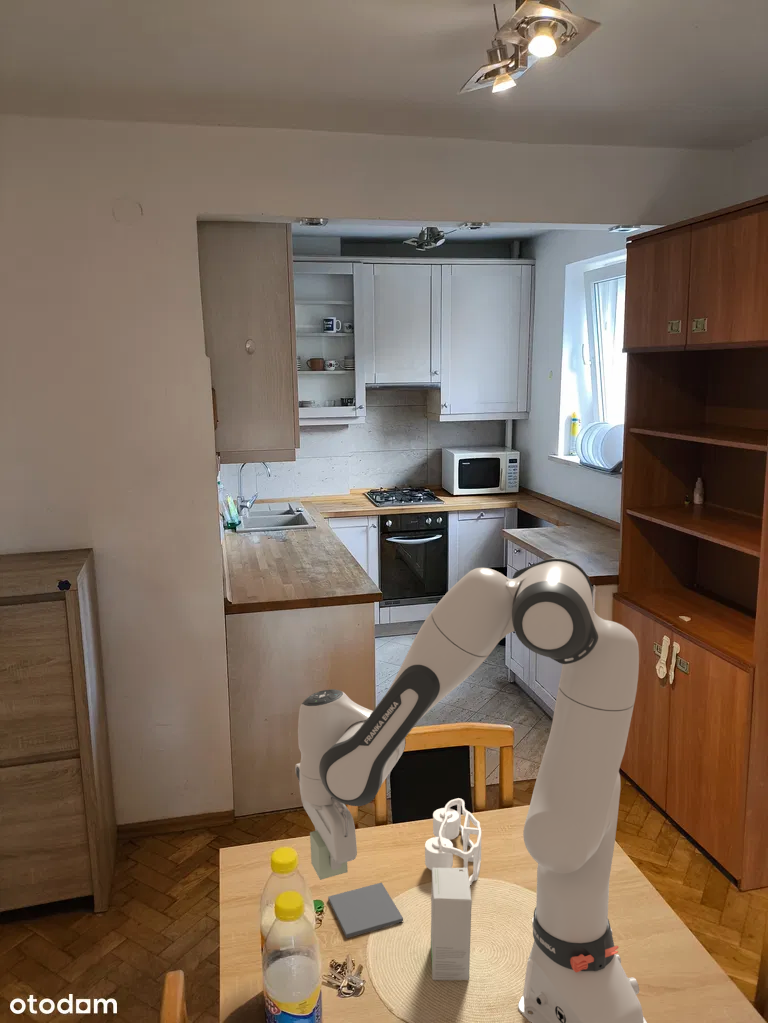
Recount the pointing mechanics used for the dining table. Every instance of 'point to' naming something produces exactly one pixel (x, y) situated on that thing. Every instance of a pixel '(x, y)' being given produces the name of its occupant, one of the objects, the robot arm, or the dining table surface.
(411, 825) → the dining table surface
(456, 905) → the skincare box
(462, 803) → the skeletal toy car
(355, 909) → the slate mat
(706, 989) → the dining table surface
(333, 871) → the sage block
